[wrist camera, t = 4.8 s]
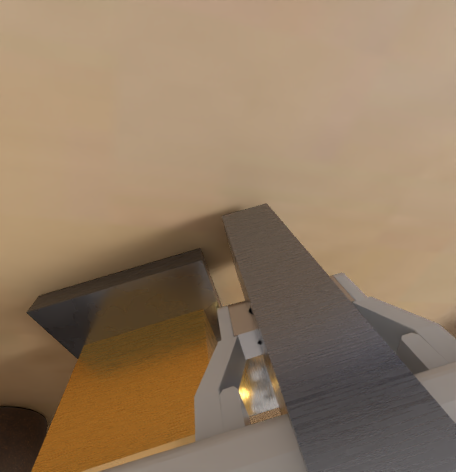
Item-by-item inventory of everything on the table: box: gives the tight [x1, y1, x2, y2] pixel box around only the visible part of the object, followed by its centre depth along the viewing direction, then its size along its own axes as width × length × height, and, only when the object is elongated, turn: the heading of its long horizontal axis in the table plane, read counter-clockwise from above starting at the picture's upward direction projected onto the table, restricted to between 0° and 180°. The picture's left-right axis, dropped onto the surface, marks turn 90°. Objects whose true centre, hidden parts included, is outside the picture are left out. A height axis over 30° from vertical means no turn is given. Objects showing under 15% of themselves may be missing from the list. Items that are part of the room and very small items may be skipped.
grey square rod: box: [222, 204, 456, 472], centre depth 10 cm, size 3×4×12 cm, turn 13°
